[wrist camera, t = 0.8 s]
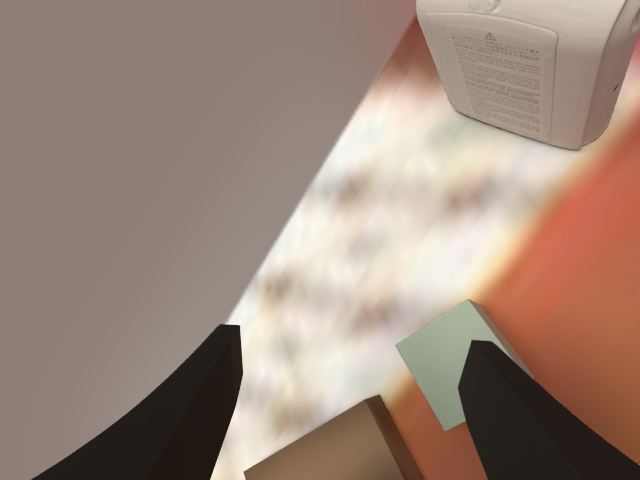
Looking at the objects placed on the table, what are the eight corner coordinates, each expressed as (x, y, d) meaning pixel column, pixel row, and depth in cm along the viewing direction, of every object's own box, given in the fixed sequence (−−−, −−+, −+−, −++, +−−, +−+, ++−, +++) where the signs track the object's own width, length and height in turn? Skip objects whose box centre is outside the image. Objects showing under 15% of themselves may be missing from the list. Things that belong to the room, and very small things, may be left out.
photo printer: (628, 101, 22) (701, -102, 12) (586, 161, 22) (620, 16, 12) (476, 64, 28) (435, -94, 18) (444, 113, 28) (387, -14, 18)
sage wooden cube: (534, 376, 21) (532, 386, 17) (462, 414, 23) (444, 431, 19) (481, 305, 24) (467, 298, 20) (419, 343, 25) (394, 345, 21)
